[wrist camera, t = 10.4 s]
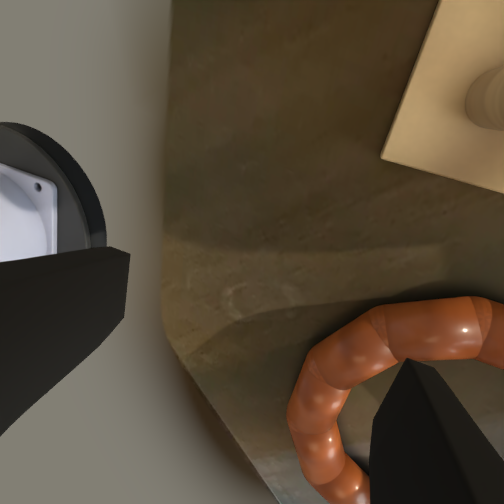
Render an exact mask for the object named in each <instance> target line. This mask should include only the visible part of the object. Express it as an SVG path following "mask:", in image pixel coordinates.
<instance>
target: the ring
mask: <svg viewBox="0 0 504 504" xmlns="http://www.w3.org/2000/svg"><path fill="white" fill-rule="evenodd" d="M406 358H409V359H412V360H415V361H431V360H453V359H475V360H478V361H481V362H484V363H486V364H489V365H492V366H495V367H497V368H500V369H503V370H504V304H501V303H498V302H495V301H492V300H489V299H486V298H483V297H478V296H464V297H454V298H444V299H434V300H424V301H414V302H405V303H395V304H385V305H379V306H376V307H374V308H372V309H370V310H368V311H367V312H365V313H364V314H362V315H361V316H359V317H358V318H356V319H355V320H353V321H351V322H350V323H348V324H347V325H345V326H344V327H342V328H341V329H339V330H338V331H336V332H335V333H333V334H332V335H330V336H328V337H327V338H325V339H324V340H322V341H321V342H319V343H318V344H316V345H315V346H313V347H312V349H311V350H310V351H309V352H308V354H307V356H306V359H305V361H304V364H303V367H302V369H301V372H300V374H299V377H298V380H297V382H296V385H295V387H294V390H293V393H292V395H291V398H290V400H289V403H288V406H287V411H286V417H287V422H288V426H289V429H290V432H291V436H292V439H293V442H294V446H295V449H296V452H297V456H298V459H299V462H300V466H301V469H302V472H303V474H304V477H305V478H306V480H307V481H308V482H309V483H310V484H311V485H312V486H313V487H314V488H315V489H316V490H317V491H318V492H319V493H320V494H321V495H322V496H323V497H324V498H325V499H326V500H327V501H328V502H329V503H330V504H370V481H369V476H368V475H367V474H366V473H365V472H364V471H363V470H362V469H361V468H360V467H359V466H358V465H357V464H356V463H355V462H354V461H353V460H352V459H351V458H350V457H349V456H348V455H347V454H346V453H345V452H344V449H343V445H342V441H341V437H340V433H339V429H338V425H337V421H336V419H337V417H338V415H339V413H340V411H341V409H342V407H343V405H344V403H345V401H346V398H347V396H348V394H349V392H350V390H351V388H353V387H354V386H356V385H358V384H360V383H362V382H364V381H365V380H367V379H369V378H371V377H373V376H375V375H376V374H378V373H380V372H382V371H384V370H386V369H387V368H389V367H391V366H393V365H395V364H397V363H398V362H404V361H405V359H406Z"/></svg>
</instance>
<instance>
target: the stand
mask: <svg viewBox="0 0 504 504" xmlns="http://www.w3.org/2000/svg"><path fill="white" fill-rule="evenodd" d="M380 157H381V159H383V160H386V161H390V162H393V163H397V164H400V165H404V166H407V167H411V168H415V169H418V170H422V171H425V172H429V173H432V174H436V175H439V176H443V177H446V178H450V179H453V180H457V181H460V182H464V183H467V184H471V185H474V186H478V187H482V188H485V189H489V190H492V191H496V192H499V193H503V194H504V0H439V1H438V4H437V7H436V9H435V12H434V15H433V17H432V20H431V22H430V25H429V28H428V30H427V33H426V36H425V38H424V41H423V43H422V46H421V49H420V51H419V54H418V57H417V59H416V62H415V64H414V67H413V70H412V72H411V75H410V78H409V80H408V83H407V85H406V88H405V91H404V93H403V96H402V99H401V101H400V104H399V106H398V109H397V112H396V114H395V117H394V120H393V122H392V125H391V127H390V130H389V133H388V135H387V138H386V141H385V143H384V146H383V148H382V151H381V154H380Z"/></svg>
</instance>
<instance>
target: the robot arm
mask: <svg viewBox="0 0 504 504" xmlns="http://www.w3.org/2000/svg"><path fill="white" fill-rule="evenodd" d="M40 185H41V188H42V189H41V188H40ZM129 262H130V254H129V253H126V252H124V251H121V250H118V249H116V248H113V247H97V248H89V249H82V250H75V251H69V252H63V253H57V187H56V185H55V184H54V183H53V182H52V181H50V180H48V179H45V178H42V177H39V176H36V175H33V174H30V173H27V172H25V171H22V170H19V169H16V168H13V167H10V166H7V165H5V164H2V163H0V436H1V435H2V434H3V433H4V432H5V431H6V430H7V429H8V428H9V426H11V425H12V424H13V423H14V422H15V421H16V420H17V419H18V418H19V417H20V416H21V415H22V414H23V413H24V412H25V411H27V410H28V409H29V408H30V407H31V406H32V405H33V404H34V403H36V402H37V401H38V400H39V399H40V398H41V397H42V396H44V394H46V393H47V392H48V391H49V390H50V389H51V388H53V387H54V386H55V385H56V384H57V383H58V382H59V381H61V380H62V379H63V378H64V377H65V376H66V375H67V374H69V373H70V372H71V371H72V370H73V369H74V368H75V367H76V366H77V365H79V364H80V363H81V362H82V361H83V360H84V359H85V358H87V356H89V355H90V354H91V353H92V352H93V351H94V350H95V349H96V348H98V347H99V346H100V345H101V343H102V342H103V341H104V340H105V339H106V338H107V337H108V336H109V334H110V333H111V332H112V331H113V330H114V329H115V327H116V326H117V325H118V324H119V323H120V321H121V320H122V319H123V318H124V312H125V302H126V292H127V283H128V273H129ZM369 481H370V504H504V461H503V460H502V458H501V457H500V456H499V454H498V453H497V452H496V450H495V449H494V448H493V446H492V445H491V444H490V442H489V441H488V440H487V438H486V437H485V436H484V434H483V433H482V432H481V430H480V429H479V427H478V426H477V425H476V423H475V422H474V421H473V419H472V418H471V417H470V415H469V414H468V412H467V411H466V410H465V408H464V407H463V405H462V404H461V403H460V401H459V400H458V399H457V397H456V396H455V394H454V393H453V392H452V390H451V389H450V388H449V386H448V385H447V383H446V382H445V381H444V379H443V378H442V377H441V376H440V374H439V373H438V372H437V371H436V370H435V368H433V367H431V366H428V365H425V364H423V363H420V362H417V361H415V360H412V359H409V358H406V359H405V361H404V363H403V365H402V367H401V369H400V371H399V372H398V374H397V376H396V378H395V380H394V382H393V384H392V385H391V387H390V389H389V391H388V393H387V395H386V397H385V398H384V400H383V402H382V404H381V406H380V408H379V410H378V411H377V413H376V415H375V417H374V419H373V425H372V435H371V445H370V457H369Z"/></svg>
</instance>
